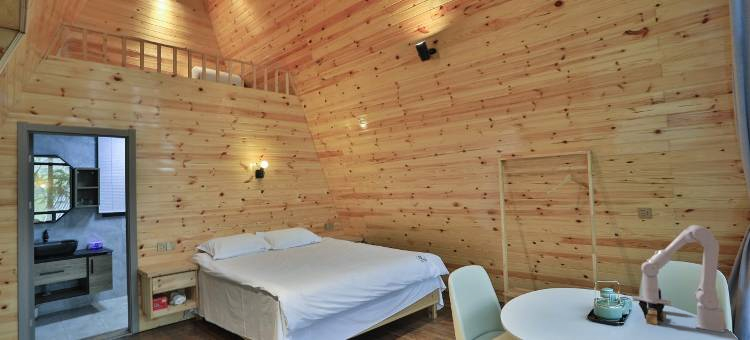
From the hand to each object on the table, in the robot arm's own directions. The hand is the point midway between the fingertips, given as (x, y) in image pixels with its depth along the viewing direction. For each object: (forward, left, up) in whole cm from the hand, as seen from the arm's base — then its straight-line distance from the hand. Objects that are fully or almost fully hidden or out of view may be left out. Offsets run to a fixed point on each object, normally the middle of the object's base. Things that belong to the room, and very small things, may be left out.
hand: (652, 319), depth 188 cm
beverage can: (+3, -20, -2) cm, 20 cm away
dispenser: (0, -8, -2) cm, 8 cm away
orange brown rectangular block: (0, -4, -2) cm, 4 cm away
